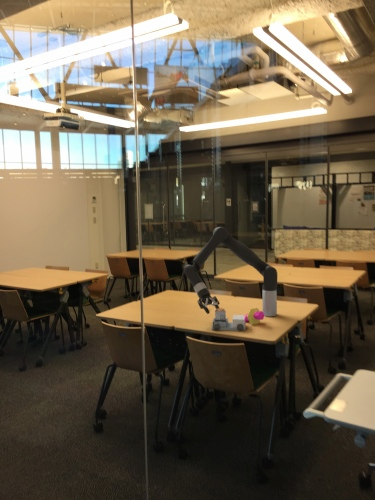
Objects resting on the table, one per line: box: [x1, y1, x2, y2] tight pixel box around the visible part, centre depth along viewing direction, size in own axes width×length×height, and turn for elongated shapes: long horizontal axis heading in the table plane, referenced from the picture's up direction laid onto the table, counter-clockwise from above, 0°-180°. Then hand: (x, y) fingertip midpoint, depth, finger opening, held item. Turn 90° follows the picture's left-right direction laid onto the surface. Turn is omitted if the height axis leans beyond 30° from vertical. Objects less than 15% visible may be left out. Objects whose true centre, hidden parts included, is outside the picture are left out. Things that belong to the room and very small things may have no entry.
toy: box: [244, 307, 265, 325], centre depth 257 cm, size 10×18×10 cm, turn 30°
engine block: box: [214, 307, 227, 322], centre depth 249 cm, size 4×4×10 cm
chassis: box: [211, 314, 246, 332], centre depth 248 cm, size 20×14×6 cm
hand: (214, 312), depth 253 cm, fingers open, 8 cm apart
